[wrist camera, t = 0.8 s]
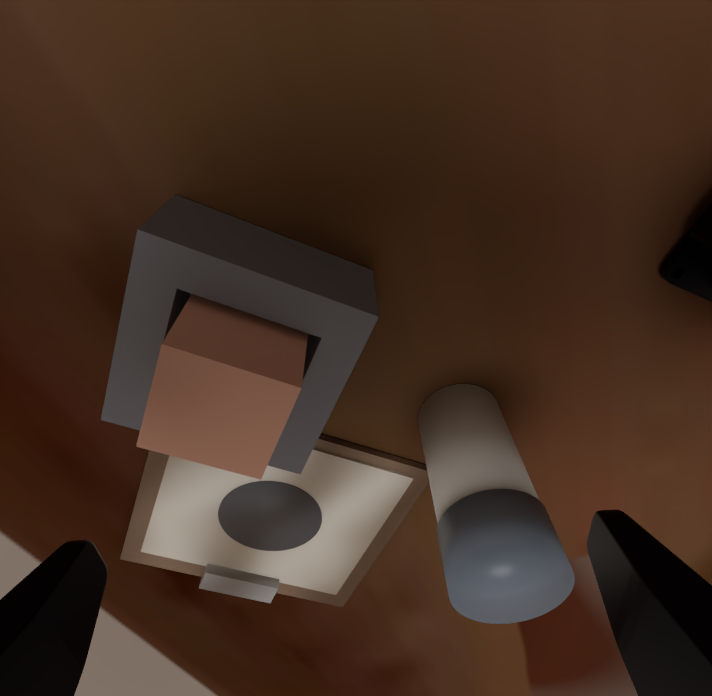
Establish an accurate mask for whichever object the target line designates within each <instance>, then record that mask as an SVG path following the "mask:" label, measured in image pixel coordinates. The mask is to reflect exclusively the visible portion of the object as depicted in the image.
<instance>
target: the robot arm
mask: <svg viewBox="0 0 712 696" xmlns="http://www.w3.org/2000/svg"><path fill="white" fill-rule="evenodd" d="M677 267H679V269H678V271H677V272H676V273H674V274H672V272H673V270H674V269H675V268H677ZM660 275H661V277H662V278H663V279H665V280H666V281H667V282H669V283H670V284H673V285H675V286H677V287H679V288H682V289H684V290H686V291H688V292H691V293H693V294H695V295H698V296H700V297H702V298H704V299H707V300H709V301H711V302H712V203H711V204H710V205H709V206H708V208H707V209H706V210H705V211H704V213H703V214H702V215H701V217H700V218H699V219H698V220H697V222H696V223H695V224H694V225H693V227H692V228H691V229H690V231H689V232H688V233H687V234H686V236H685V237H684V238H683V239H682V241H681V242H680V243H679V245H678V246H677V247H676V248H675V250H674V251H673V252H672V253H671V255H670V256H669V257H668V258H667V260H666V261H665V262H664V264H663V265H662V267H661V269H660ZM587 548H588V553H589V557H590V560H591V563H592V567H593V570H594V573H595V576H596V579H597V583H598V586H599V589H600V592H601V596H602V598H603V602H604V605H605V608H606V612H607V615H608V618H609V621H610V625H611V628H612V631H613V634H614V637H615V640H616V643H617V646H618V648H619V650H620V653H621V656H622V658H623V661H624V663H625V665H626V668H627V670H628V673H629V675H630V677H631V680H632V682H633V684H634V686H635V689H636V691H637V694H638V696H712V585H711V584H709V583H708V582H707V581H706V580H705V579H703V578H702V577H701V576H700V575H699V574H697V573H696V572H695V571H694V570H693V569H691V568H690V567H689V566H688V565H687V564H685V563H684V562H683V561H682V560H681V559H679V558H678V557H677V556H676V555H675V554H673V553H672V552H671V551H670V550H669V549H667V548H666V547H665V546H664V545H663V544H661V543H660V542H659V541H658V540H657V539H655V538H654V537H653V536H652V535H651V534H649V533H648V532H647V531H646V530H645V529H643V528H642V527H641V526H640V525H639V524H638V523H636V522H635V521H634V520H633V519H632V518H630V517H629V516H628V515H627V514H625V513H624V512H622V511H620V510H600V511H597V512H596V513H595V514H594V516H593V520H592V524H591V528H590V532H589V535H588V540H587ZM107 576H108V572H107V566H106V564H105V562H104V561H103V559H102V557H101V556H100V554H99V552H98V550H97V549H96V547H95V545H94V544H93V542H91V541H89V540H77V541H69V542H66V543H64V544H63V545H62V546H60V547H59V548H58V549H57V550H56V551H55V552H54V553H52V554H51V555H50V556H49V557H48V558H47V559H46V560H45V561H43V562H42V563H41V564H40V565H39V566H38V567H37V568H35V569H34V570H33V571H32V572H31V573H30V574H29V575H28V576H26V577H25V578H24V579H23V580H22V581H21V582H20V583H19V584H17V585H16V586H15V587H14V588H13V589H12V590H11V591H10V592H8V593H7V594H6V595H5V596H4V597H3V598H2V599H1V600H0V696H74V694H75V691H76V688H77V686H78V683H79V680H80V677H81V674H82V671H83V668H84V665H85V661H86V658H87V655H88V651H89V647H90V643H91V639H92V636H93V632H94V628H95V624H96V620H97V617H98V613H99V609H100V605H101V601H102V597H103V594H104V590H105V586H106V582H107Z"/></svg>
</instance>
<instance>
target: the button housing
mask: <svg viewBox="0 0 712 696" xmlns="http://www.w3.org/2000/svg"><path fill="white" fill-rule="evenodd" d="M191 294H195V295H197V296H200V297H203V298H206V299H209V300H212V301H215V302H218V303H221V304H224V305H227V306H230V307H232V308H235V309H238V310H241V311H244V312H247V313H250V314H253V315H256V316H259V317H262V318H265V319H268V320H270V321H273V322H276V323H279V324H282V325H285V326H288V327H291V328H294V329H297V330H300V331H303V332H305V333H308V339H307V347H306V356H305V364H304V373H303V381H302V389H301V391H300V393H299V395H298V398H297V400H296V402H295V404H294V407H293V409H292V411H291V413H290V416H289V418H288V420H287V422H286V425H285V427H284V429H283V431H282V434H281V436H280V438H279V440H278V443H277V445H276V447H275V449H274V452H273V454H272V456H271V458H270V461H269V463H268V466H271V467H275V468H279V469H282V470H286V471H289V472H293V473H297V474H300V475H301V473H302V471H303V469H304V466H305V464H306V462H307V460H308V458H309V456H310V454H311V452H312V450H313V448H314V446H315V444H316V442H317V440H318V438H319V436H320V434H321V432H322V430H323V428H324V426H325V424H326V422H327V420H328V418H329V416H330V414H331V412H332V410H333V408H334V406H335V404H336V402H337V400H338V398H339V396H340V394H341V392H342V390H343V388H344V386H345V384H346V382H347V380H348V378H349V376H350V374H351V372H352V370H353V368H354V366H355V364H356V362H357V360H358V358H359V356H360V354H361V352H362V350H363V348H364V346H365V344H366V342H367V340H368V338H369V336H370V334H371V332H372V330H373V328H374V326H375V324H376V322H377V320H378V318H379V312H378V305H377V297H376V290H375V282H374V275H373V270H371V269H368V268H366V267H363V266H360V265H358V264H355V263H353V262H350V261H347V260H345V259H342V258H340V257H337V256H334V255H332V254H329V253H327V252H324V251H321V250H319V249H316V248H314V247H311V246H308V245H306V244H303V243H301V242H298V241H295V240H293V239H290V238H288V237H285V236H282V235H280V234H277V233H275V232H272V231H269V230H267V229H264V228H262V227H259V226H256V225H254V224H251V223H249V222H246V221H243V220H241V219H238V218H236V217H233V216H230V215H228V214H225V213H223V212H220V211H217V210H215V209H212V208H210V207H207V206H204V205H202V204H199V203H197V202H194V201H191V200H189V199H186V198H184V197H181V196H178V195H174V196H173V197H172V198H171V199H170V200H169V201H168V202H167V203H166V204H165V205H163V206H162V207H161V208H160V209H159V210H158V211H157V212H156V213H155V214H154V215H152V216H151V217H150V218H149V219H148V220H147V221H146V222H145V223H144V224H143V225H142V226H140V227H139V228H138V229H137V234H136V239H135V244H134V250H133V255H132V260H131V265H130V270H129V276H128V281H127V286H126V291H125V296H124V302H123V307H122V312H121V317H120V323H119V328H118V333H117V338H116V343H115V349H114V354H113V359H112V364H111V370H110V375H109V380H108V385H107V390H106V396H105V401H104V406H103V411H102V416H101V420H104V421H107V422H111V423H115V424H118V425H122V426H126V427H129V428H133V429H136V430H140V429H141V425H142V421H143V417H144V413H145V409H146V405H147V401H148V397H149V393H150V389H151V385H152V381H153V377H154V373H155V369H156V365H157V361H158V357H159V353H160V349H161V345H162V343H163V341H164V339H165V338H166V336H167V334H168V333H169V331H170V329H171V328H172V326H173V324H174V323H175V321H176V319H177V318H178V316H179V314H180V313H181V311H182V309H183V308H184V306H185V304H186V303H187V301H188V299H189V298H190V296H191Z"/></svg>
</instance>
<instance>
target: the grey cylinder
mask: <svg viewBox="0 0 712 696" xmlns="http://www.w3.org/2000/svg"><path fill="white" fill-rule="evenodd" d="M418 427H419V432H420V437H421V442H422V447H423V452H424V457H425V462H426V467H427V472H428V478H429V483H430V488H431V493H432V498H433V503H434V508H435V513H436V518H437V523H438V526H437V537H438V542H439V547H440V552H441V558H442V563H443V568H444V573H445V578H446V584H447V589H448V594H449V599H450V602H451V604H452V606H453V607H454V609H455V610H456V611H457V612H459V613H460V614H462V615H463V616H465V617H467V618H469V619H472V620H475V621H479V622H484V623H492V624H506V623H515V622H521V621H525V620H529V619H532V618H535V617H538V616H541V615H543V614H545V613H547V612H549V611H551V610H552V609H554V608H556V607H557V606H558V605H560V604H561V603H562V602H563V601H564V600H565V599H566V598H567V597H568V596H569V594H570V593H571V591H572V589H573V586H574V581H575V577H574V573H573V570H572V568H571V566H570V563H569V561H568V559H567V556H566V554H565V552H564V550H563V547H562V545H561V543H560V540H559V538H558V536H557V533H556V531H555V529H554V527H553V524H552V522H551V520H550V517H549V515H548V513H547V510H546V508H545V507H544V505H543V504H542V503H541V502H540V501H539V499H538V497H537V494H536V492H535V490H534V487H533V485H532V483H531V480H530V478H529V476H528V473H527V471H526V469H525V466H524V464H523V462H522V459H521V457H520V455H519V452H518V450H517V448H516V445H515V443H514V441H513V438H512V436H511V434H510V431H509V429H508V427H507V424H506V422H505V420H504V417H503V415H502V413H501V410H500V408H499V406H498V403H497V401H496V399H495V398H494V396H493V395H492V394H491V393H490V392H489V391H487V390H486V389H484V388H482V387H479V386H476V385H472V384H455V385H450V386H446V387H444V388H441V389H439V390H437V391H436V392H434V393H433V394H431V395H430V396H429V397H428V398H427V399H426V400H425V401H424V403H423V404H422V405H421V407H420V410H419V412H418Z"/></svg>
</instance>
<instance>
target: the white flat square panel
mask: <svg viewBox="0 0 712 696" xmlns="http://www.w3.org/2000/svg"><path fill="white" fill-rule="evenodd" d="M428 483H429V478H428V472H427V467H426V465H424V464H421V463H417V462H414V461H410V460H407V459H404V458H400V457H397V456H394V455H390V454H387V453H383V452H380V451H377V450H373V449H370V448H367V447H363V446H360V445H356V444H353V443H350V442H346V441H343V440H340V439H336V438H333V437H330V436H326V435H323V434H320V436H319V438H318V440H317V442H316V444H315V446H314V448H313V450H312V452H311V454H310V456H309V458H308V460H307V462H306V464H305V466H304V469H303V471H302V473H301V475H300V474H297V473H293V472H289V471H286V470H282V469H279V468H275V467H271V466H268V465H267V467H266V470H265V472H264V474H263V476H262V479H261V480H260V479H256V478H253V477H249V476H245V475H241V474H238V473H234V472H230V471H226V470H223V469H219V468H215V467H211V466H208V465H204V464H200V463H196V462H193V461H189V460H185V459H181V458H178V457H174V456H170V455H166V454H163V453H159V452H155V451H151V450H149V453H148V457H147V461H146V465H145V468H144V472H143V476H142V480H141V483H140V487H139V491H138V494H137V498H136V502H135V506H134V509H133V513H132V517H131V521H130V524H129V528H128V532H127V535H126V539H125V543H124V547H123V550H122V554H121V558H120V559H122V560H127V561H131V562H136V563H141V564H145V565H150V566H154V567H159V568H164V569H168V570H173V571H178V572H182V573H187V574H192V575H196V576H201V577H202V578H201V581H200V585H199V588H200V589H205V590H210V591H214V592H219V593H224V594H229V595H233V596H238V597H243V598H248V599H252V600H257V601H262V602H267V603H271V601H272V599H273V597H274V596H275V594H276V593H280V594H284V595H289V596H293V597H298V598H303V599H307V600H312V601H317V602H321V603H326V604H330V605H335V606H340V607H343V606H344V604H345V603H346V601H347V600H348V599H349V597H350V596H351V594H352V593H353V591H354V590H355V588H356V587H357V586H358V584H359V583H360V581H361V580H362V578H363V577H364V575H365V574H366V573H367V571H368V570H369V568H370V567H371V565H372V564H373V563H374V561H375V560H376V558H377V557H378V555H379V554H380V552H381V551H382V550H383V548H384V547H385V545H386V544H387V542H388V541H389V539H390V538H391V537H392V535H393V534H394V532H395V531H396V529H397V528H398V527H399V525H400V524H401V522H402V521H403V519H404V518H405V516H406V515H407V514H408V512H409V511H410V509H411V508H412V506H413V505H414V503H415V502H416V501H417V499H418V498H419V496H420V495H421V493H422V492H423V491H424V489H425V488H426V486H427V485H428Z"/></svg>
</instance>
